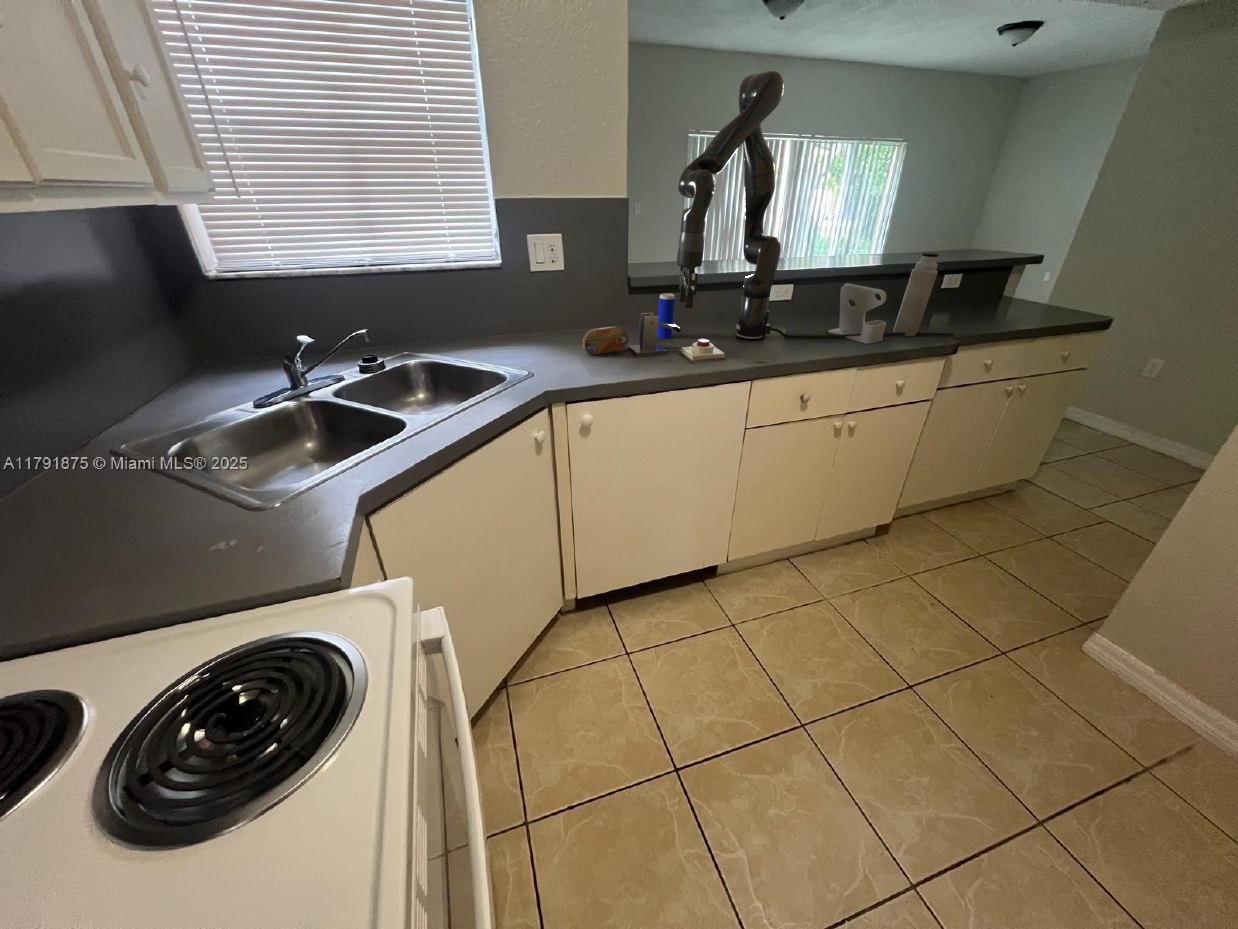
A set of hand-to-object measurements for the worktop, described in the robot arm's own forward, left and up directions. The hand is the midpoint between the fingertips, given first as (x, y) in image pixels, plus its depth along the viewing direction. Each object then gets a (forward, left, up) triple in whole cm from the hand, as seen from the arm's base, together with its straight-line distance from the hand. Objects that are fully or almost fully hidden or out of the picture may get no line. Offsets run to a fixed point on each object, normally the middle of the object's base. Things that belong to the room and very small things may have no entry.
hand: (685, 304), depth 151 cm
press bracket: (+11, -3, -15) cm, 19 cm away
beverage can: (0, -15, -15) cm, 21 cm away
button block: (-4, +7, -15) cm, 17 cm away
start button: (-4, +7, -11) cm, 14 cm away
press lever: (+7, -3, -7) cm, 10 cm away
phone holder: (-70, -1, -15) cm, 72 cm away
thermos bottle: (-92, 0, -15) cm, 93 cm away
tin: (+25, -4, -15) cm, 29 cm away
